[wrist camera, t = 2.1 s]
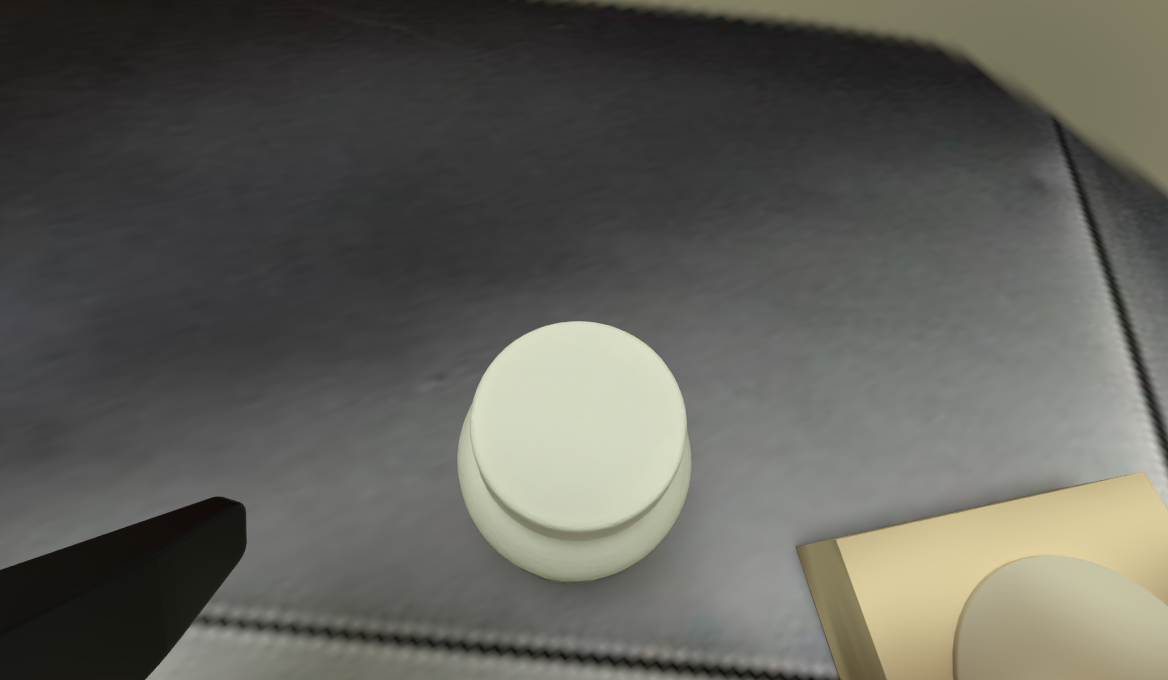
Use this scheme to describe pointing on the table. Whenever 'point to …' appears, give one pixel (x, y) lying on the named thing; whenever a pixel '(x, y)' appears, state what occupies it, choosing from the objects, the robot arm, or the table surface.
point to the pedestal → (1003, 590)
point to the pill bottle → (575, 452)
